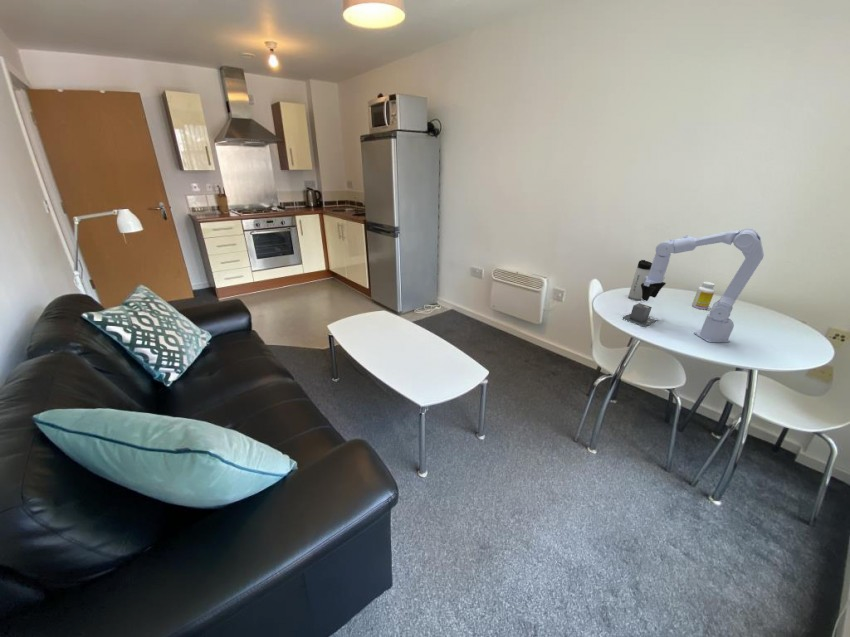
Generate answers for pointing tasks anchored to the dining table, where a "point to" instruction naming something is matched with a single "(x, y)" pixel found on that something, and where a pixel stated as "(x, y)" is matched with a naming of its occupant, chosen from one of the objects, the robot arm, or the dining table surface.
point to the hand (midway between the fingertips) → (648, 298)
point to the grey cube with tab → (640, 312)
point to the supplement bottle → (704, 296)
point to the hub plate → (643, 324)
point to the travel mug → (639, 279)
